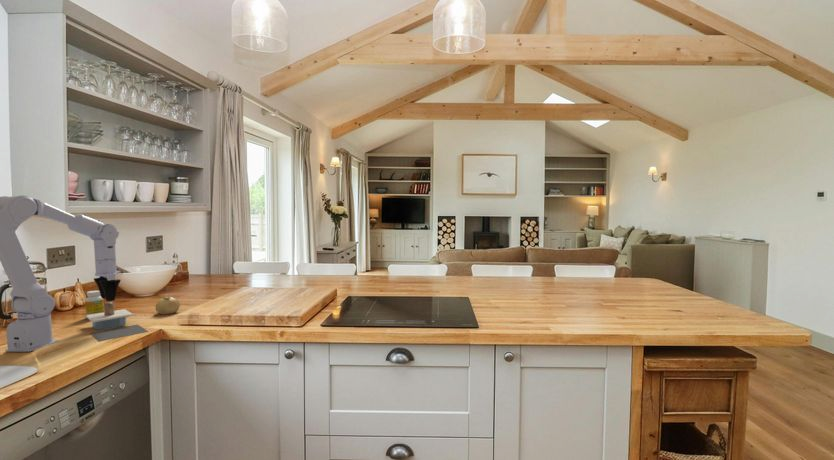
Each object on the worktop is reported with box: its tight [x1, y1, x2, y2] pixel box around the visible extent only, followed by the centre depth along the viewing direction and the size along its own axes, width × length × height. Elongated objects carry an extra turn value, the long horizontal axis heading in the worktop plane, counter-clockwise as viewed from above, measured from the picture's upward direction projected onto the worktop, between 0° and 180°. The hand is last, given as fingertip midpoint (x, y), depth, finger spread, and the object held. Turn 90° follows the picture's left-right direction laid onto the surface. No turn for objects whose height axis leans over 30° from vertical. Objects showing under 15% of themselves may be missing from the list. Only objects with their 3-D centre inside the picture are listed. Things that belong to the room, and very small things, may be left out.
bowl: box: [91, 317, 127, 330], centre depth 143 cm, size 9×9×4 cm
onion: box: [155, 296, 181, 316], centre depth 160 cm, size 8×8×7 cm
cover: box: [85, 301, 134, 323], centre depth 143 cm, size 11×11×5 cm
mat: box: [89, 324, 149, 343], centre depth 135 cm, size 13×13×1 cm
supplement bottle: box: [84, 290, 105, 320], centre depth 156 cm, size 5×5×10 cm
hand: (108, 299), depth 143 cm, fingers open, 7 cm apart
